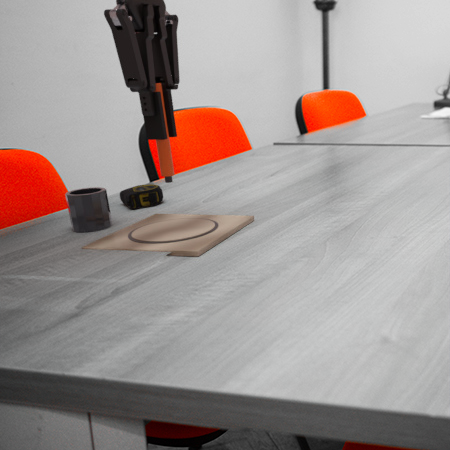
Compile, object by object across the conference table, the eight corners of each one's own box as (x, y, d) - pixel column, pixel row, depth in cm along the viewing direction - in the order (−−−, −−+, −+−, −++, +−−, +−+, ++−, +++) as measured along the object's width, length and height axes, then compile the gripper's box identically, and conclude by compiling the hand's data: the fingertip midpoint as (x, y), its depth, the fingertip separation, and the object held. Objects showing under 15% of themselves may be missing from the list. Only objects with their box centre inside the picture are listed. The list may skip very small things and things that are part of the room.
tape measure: (120, 207, 106) (117, 187, 105) (159, 200, 110) (156, 181, 109) (128, 214, 101) (125, 193, 100) (168, 207, 105) (165, 187, 104)
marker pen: (159, 183, 82) (144, 83, 78) (166, 180, 84) (152, 83, 80) (171, 183, 82) (156, 83, 78) (178, 180, 84) (163, 82, 80)
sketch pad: (82, 252, 81) (80, 245, 81) (156, 218, 98) (155, 212, 98) (198, 256, 78) (197, 249, 77) (254, 220, 95) (253, 214, 94)
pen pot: (65, 235, 89) (56, 195, 87) (90, 225, 95) (83, 187, 93) (96, 236, 88) (88, 195, 86) (120, 226, 94) (113, 187, 92)
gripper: (124, -55, 67) (155, 145, 74) (191, -36, 81) (212, 131, 88) (68, -50, 68) (104, 146, 75) (143, -33, 82) (167, 131, 89)
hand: (162, 137), depth 81 cm, fingers closed on marker pen, 2 cm apart
